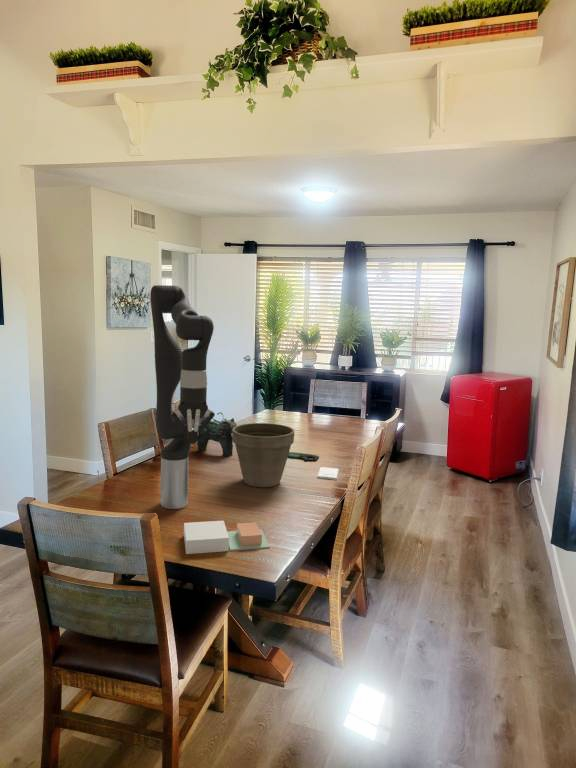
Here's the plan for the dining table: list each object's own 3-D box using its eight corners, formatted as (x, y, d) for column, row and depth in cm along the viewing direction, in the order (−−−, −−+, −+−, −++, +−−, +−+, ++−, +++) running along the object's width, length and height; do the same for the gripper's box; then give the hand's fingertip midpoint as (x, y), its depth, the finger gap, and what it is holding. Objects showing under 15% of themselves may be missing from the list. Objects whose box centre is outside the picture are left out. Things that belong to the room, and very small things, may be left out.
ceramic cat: (236, 455, 240) (238, 413, 237) (228, 458, 234) (230, 416, 232) (202, 448, 249) (203, 408, 246) (194, 451, 243) (195, 410, 241)
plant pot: (224, 473, 214) (226, 422, 210) (280, 469, 222) (282, 420, 219) (239, 494, 190) (240, 438, 187) (300, 489, 199) (303, 435, 195)
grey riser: (183, 535, 155) (184, 522, 154) (223, 532, 158) (223, 520, 157) (186, 554, 143) (186, 540, 143) (228, 550, 146) (229, 537, 146)
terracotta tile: (256, 522, 158) (255, 531, 159) (237, 523, 157) (236, 532, 157) (262, 534, 150) (261, 544, 150) (241, 536, 148) (241, 546, 149)
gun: (281, 456, 238) (287, 451, 248) (281, 459, 238) (287, 453, 248) (315, 460, 234) (320, 454, 244) (315, 463, 234) (319, 457, 244)
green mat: (225, 532, 158) (225, 531, 158) (261, 530, 161) (261, 529, 161) (230, 550, 146) (230, 549, 146) (269, 547, 149) (269, 546, 149)
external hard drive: (338, 472, 224) (336, 481, 212) (319, 470, 225) (316, 479, 213) (338, 468, 224) (336, 477, 212) (320, 466, 225) (317, 475, 213)
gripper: (215, 383, 153) (213, 439, 155) (169, 382, 149) (169, 440, 152) (218, 387, 146) (216, 446, 148) (170, 387, 142) (169, 447, 145)
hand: (192, 443), depth 150 cm, fingers closed
